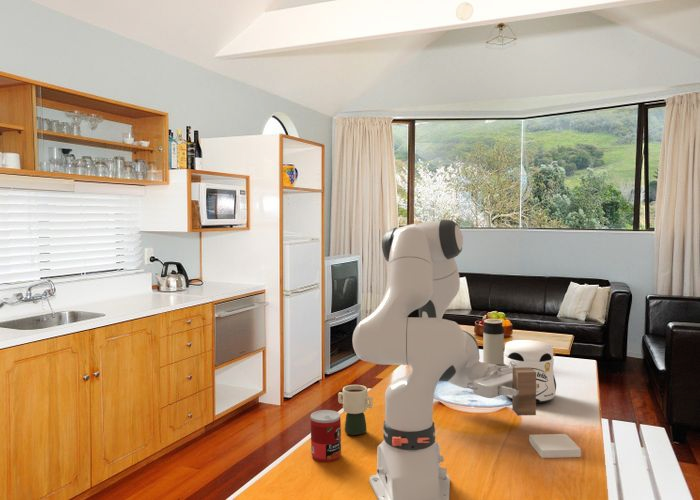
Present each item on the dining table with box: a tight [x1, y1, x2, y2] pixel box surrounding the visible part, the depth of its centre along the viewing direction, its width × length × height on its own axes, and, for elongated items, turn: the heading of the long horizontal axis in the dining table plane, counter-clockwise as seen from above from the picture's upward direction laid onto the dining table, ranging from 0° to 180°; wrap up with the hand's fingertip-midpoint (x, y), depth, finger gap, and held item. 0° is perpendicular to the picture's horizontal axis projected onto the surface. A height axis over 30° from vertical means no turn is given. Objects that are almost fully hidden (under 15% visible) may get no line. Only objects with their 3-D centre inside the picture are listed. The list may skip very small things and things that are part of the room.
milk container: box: [504, 339, 557, 404], centre depth 192 cm, size 17×17×18 cm
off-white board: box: [528, 433, 582, 459], centre depth 152 cm, size 10×10×2 cm
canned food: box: [310, 409, 342, 463], centre depth 150 cm, size 8×8×11 cm
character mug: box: [337, 384, 374, 436], centre depth 165 cm, size 11×7×13 cm, turn 63°
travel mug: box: [482, 318, 505, 364], centre depth 233 cm, size 8×8×18 cm
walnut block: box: [511, 367, 537, 416], centre depth 161 cm, size 5×5×12 cm
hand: (526, 389), depth 160 cm, fingers closed on walnut block, 7 cm apart
